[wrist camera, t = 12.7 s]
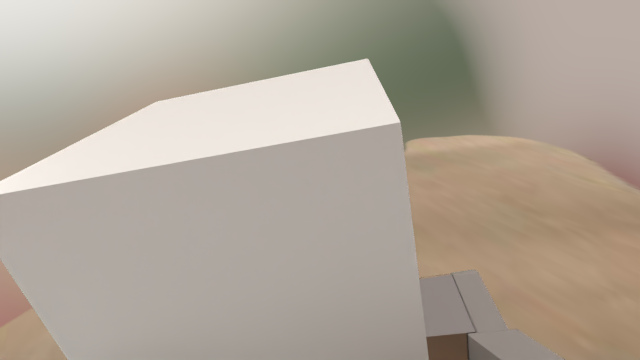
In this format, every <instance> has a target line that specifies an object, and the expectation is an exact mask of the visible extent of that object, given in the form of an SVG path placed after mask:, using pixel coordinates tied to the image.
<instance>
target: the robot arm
mask: <svg viewBox="0 0 640 360" xmlns="http://www.w3.org/2000/svg"><path fill="white" fill-rule="evenodd" d="M419 282H420V290H421V299H422V307H423V315H424V324H425V332H426V340H427V349H428V357H429V360H565V359H563V358H562V357H560V356H559V355H557V354H555V353H554V352H552V351H551V350H549V349H548V348H546V347H544V346H543V345H541V344H540V343H538V342H537V341H535V340H533V339H532V338H530V337H529V336H527V335H526V334H524V333H522V332H521V331H519V330H518V329H512V330H508V328H507V326H506V324H505V322H504V320H503V318H502V316H501V314H500V312H499V311H498V309H497V307H496V305H495V303H494V301H493V299H492V297H491V295H490V293H489V292H488V290H487V288H486V286H485V284H484V282H483V280H482V278H481V276H480V274H479V273H478V272H477V271H476V270H468V271H461V272H454V273H450V274H444V275H436V276H428V277H421V278H419Z"/></svg>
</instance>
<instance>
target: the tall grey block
mask: <svg viewBox="0 0 640 360" xmlns="http://www.w3.org/2000/svg"><path fill="white" fill-rule="evenodd" d="M0 259H1V261H2V262H3V264H4V265H5V267H6V268H7V270H8V271H9V273H10V274H11V276H12V277H13V279H14V280H15V282H16V283H17V285H18V286H19V287H20V289H21V291H22V292H23V294H24V295H25V297H26V298H27V300H28V301H29V303H30V304H31V306H32V307H33V309H34V310H35V312H36V313H37V315H38V316H39V318H40V319H41V320H42V322H43V323H44V325H45V326H46V328H47V329H48V331H49V332H50V334H51V335H52V337H53V338H54V340H55V341H56V343H57V344H58V346H59V347H60V349H61V350H62V352H63V353H64V355H65V356H66V358H67V359H68V360H429V357H428V349H427V340H426V332H425V324H424V315H423V307H422V299H421V290H420V282H419V273H418V265H417V257H416V248H415V240H414V232H413V223H412V215H411V207H410V198H409V190H408V181H407V173H406V165H405V156H404V148H403V140H402V131H401V123H400V120H399V118H398V117H397V115H396V113H395V111H394V109H393V107H392V105H391V103H390V101H389V99H388V97H387V95H386V93H385V91H384V89H383V87H382V85H381V83H380V81H379V79H378V78H377V76H376V74H375V72H374V70H373V68H372V66H371V65H370V62H369V60H368V59H363V60H358V61H354V62H349V63H344V64H339V65H334V66H329V67H324V68H319V69H315V70H309V71H305V72H300V73H295V74H290V75H285V76H280V77H275V78H270V79H265V80H260V81H256V82H251V83H246V84H241V85H236V86H231V87H226V88H221V89H216V90H211V91H207V92H202V93H197V94H192V95H187V96H183V97H177V98H173V99H167V100H163V101H159V102H155V103H153V104H151V105H149V106H147V107H145V108H143V109H142V110H140V111H138V112H136V113H134V114H132V115H130V116H128V117H126V118H124V119H122V120H120V121H118V122H116V123H114V124H112V125H110V126H108V127H106V128H104V129H102V130H100V131H98V132H96V133H95V134H92V135H90V136H89V137H86V138H84V139H83V140H81V141H79V142H77V143H75V144H73V145H71V146H69V147H67V148H65V149H63V150H61V151H59V152H57V153H55V154H53V155H51V156H49V157H47V158H45V159H43V160H41V161H39V162H37V163H36V164H33V165H31V166H30V167H28V168H26V169H24V170H22V171H20V172H18V173H16V174H14V175H12V176H10V177H8V178H6V179H4V180H2V181H0Z"/></svg>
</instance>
